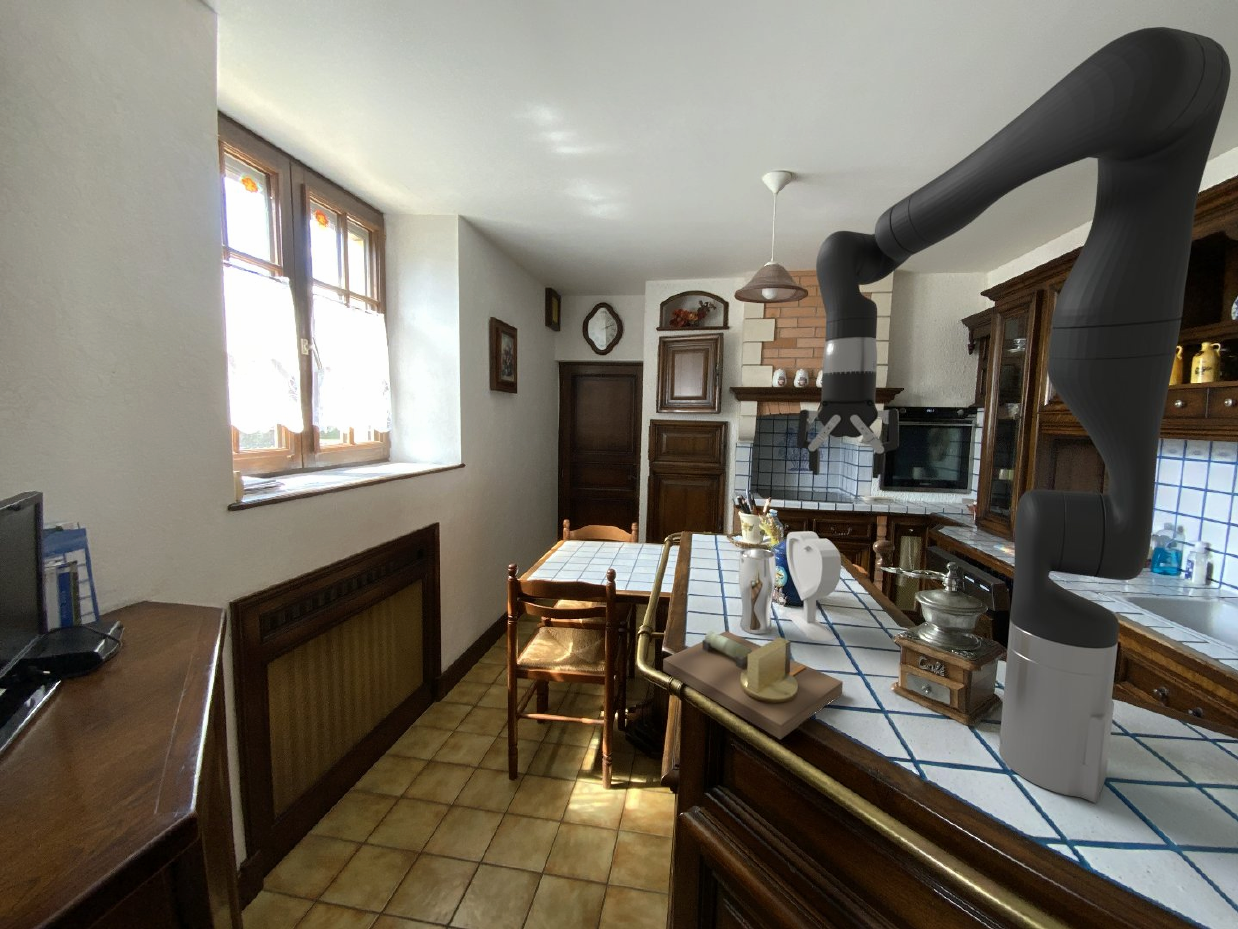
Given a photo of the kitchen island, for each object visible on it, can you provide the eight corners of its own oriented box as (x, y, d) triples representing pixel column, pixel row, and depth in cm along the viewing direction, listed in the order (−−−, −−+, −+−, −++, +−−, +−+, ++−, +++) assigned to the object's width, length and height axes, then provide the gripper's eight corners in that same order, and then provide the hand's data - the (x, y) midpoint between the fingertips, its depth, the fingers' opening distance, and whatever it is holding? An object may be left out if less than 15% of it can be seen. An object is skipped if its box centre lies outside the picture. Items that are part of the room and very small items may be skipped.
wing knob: (761, 666, 78) (762, 630, 77) (808, 687, 72) (809, 648, 71) (729, 685, 73) (729, 646, 72) (777, 710, 67) (778, 668, 66)
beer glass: (770, 620, 100) (772, 548, 98) (778, 636, 93) (780, 558, 91) (735, 619, 100) (736, 547, 99) (740, 635, 94) (741, 558, 92)
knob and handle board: (842, 694, 74) (843, 664, 73) (780, 739, 64) (781, 705, 64) (726, 641, 91) (726, 616, 91) (663, 670, 81) (663, 643, 81)
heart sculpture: (780, 609, 105) (783, 526, 103) (803, 608, 105) (806, 526, 103) (815, 644, 90) (818, 547, 88) (842, 642, 90) (846, 546, 88)
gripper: (903, 370, 75) (897, 476, 77) (805, 374, 82) (802, 470, 84) (901, 366, 68) (895, 482, 70) (795, 371, 76) (792, 476, 78)
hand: (844, 476), depth 77 cm, fingers open, 8 cm apart
